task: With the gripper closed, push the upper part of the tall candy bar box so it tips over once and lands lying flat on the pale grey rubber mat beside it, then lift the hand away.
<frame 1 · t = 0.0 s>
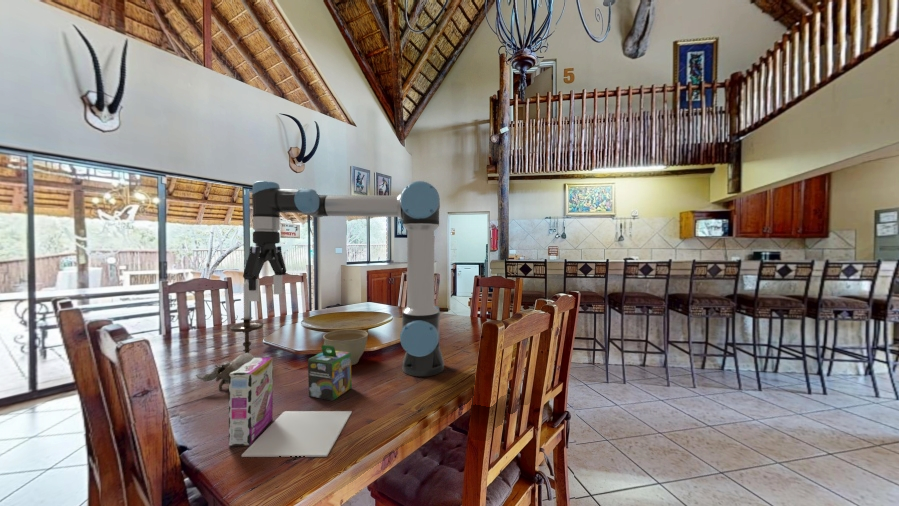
hand: (266, 297, 103), 28 cm above the table, tool pointing down, fingers open, 13 cm apart
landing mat: (303, 432, 77), on the table
candlestick: (247, 363, 122), on the table
chalk box: (330, 393, 98), on the table
candy bar box: (252, 433, 77), on the table
planter bowl: (346, 363, 123), on the table
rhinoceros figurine: (233, 387, 102), on the table
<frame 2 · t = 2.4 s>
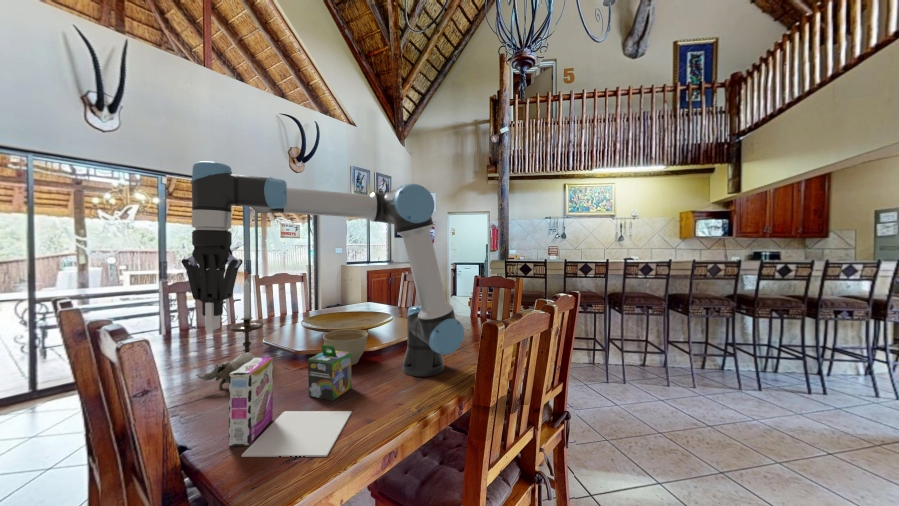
hand: (212, 329, 76), 25 cm above the table, tool pointing down, fingers closed
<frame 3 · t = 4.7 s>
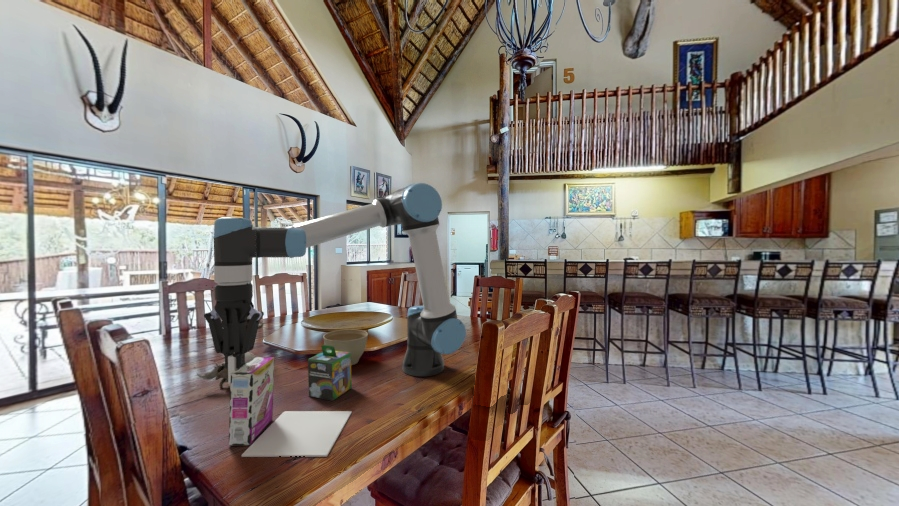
hand: (235, 381, 77), 12 cm above the table, tool pointing down, fingers closed
candy bar box: (252, 432, 77), on the table, touching gripper
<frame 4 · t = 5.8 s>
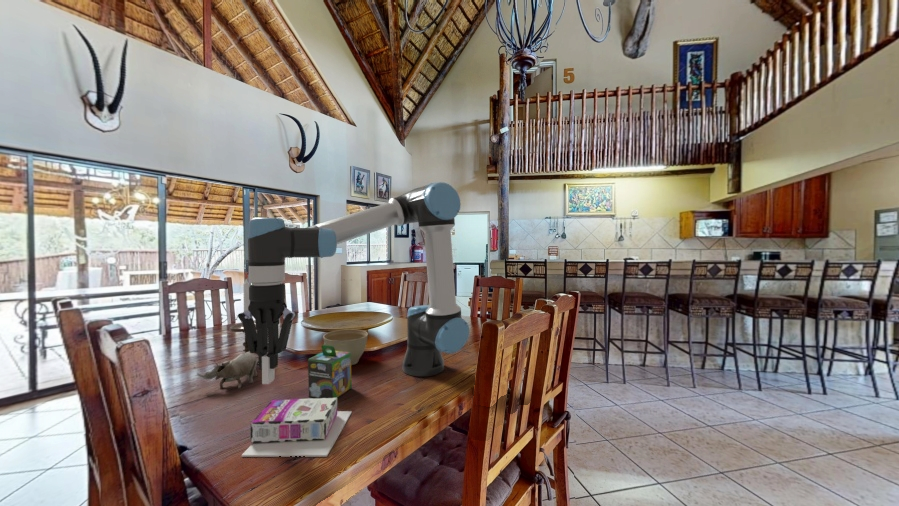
hand: (268, 381, 77), 12 cm above the table, tool pointing down, fingers closed
candy bar box: (261, 420, 77), point 3 cm above the table, touching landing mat
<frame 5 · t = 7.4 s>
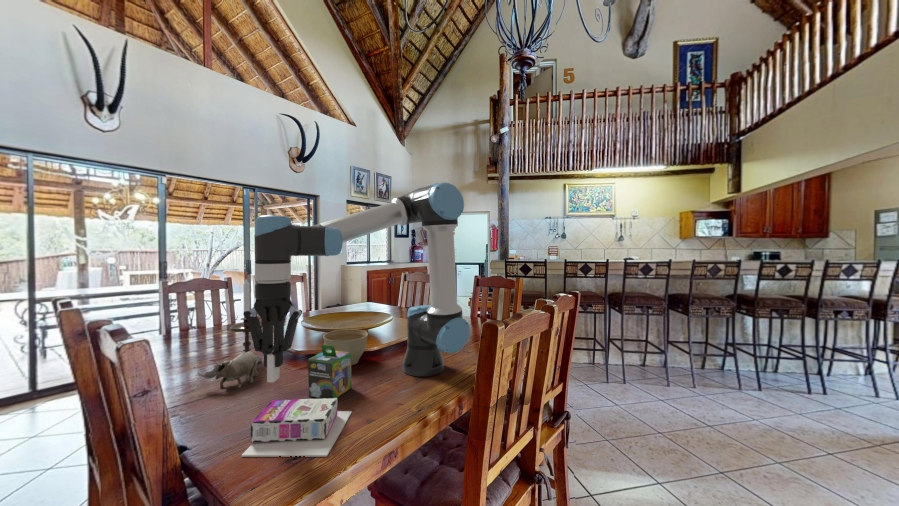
hand: (273, 379, 77), 13 cm above the table, tool pointing down, fingers closed
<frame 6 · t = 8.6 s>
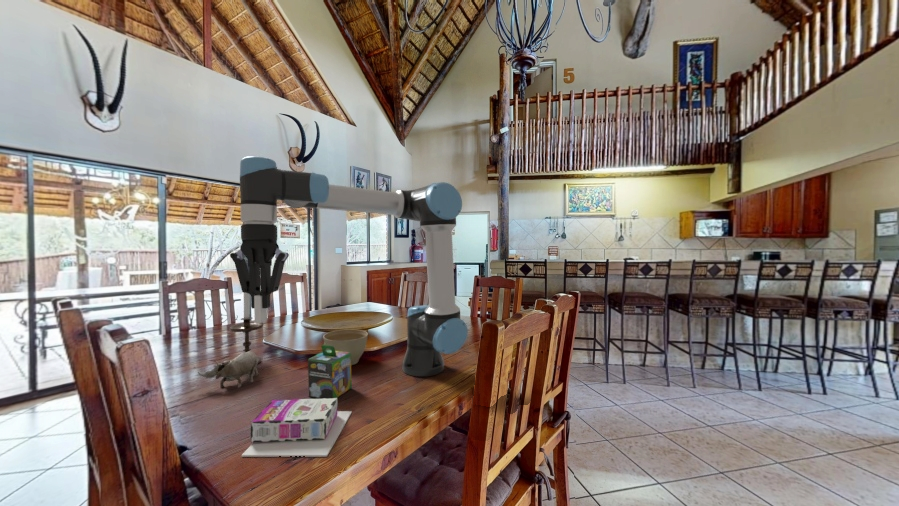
hand: (261, 321, 78), 26 cm above the table, tool pointing down, fingers closed
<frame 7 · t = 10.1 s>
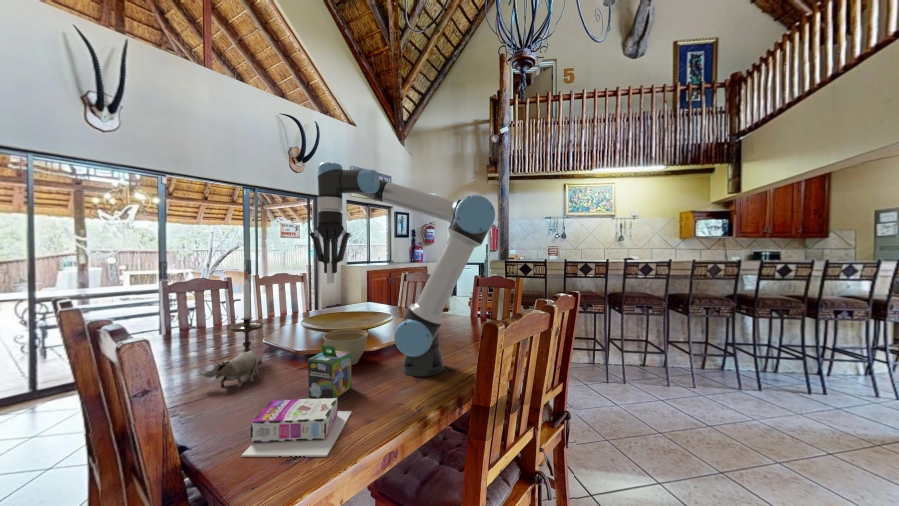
hand: (330, 283, 106), 32 cm above the table, tool pointing down, fingers closed
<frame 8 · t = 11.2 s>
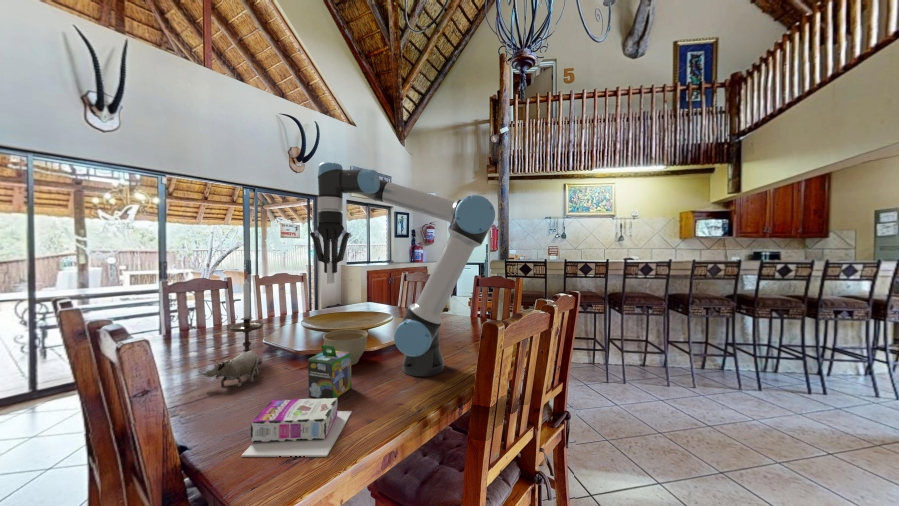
hand: (330, 282, 107), 32 cm above the table, tool pointing down, fingers closed
at the end: candy bar box tilted 90°; candy bar box touching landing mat; candy bar box inside the target area (1.0 cm from its centre), point 2.8 cm above the table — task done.
